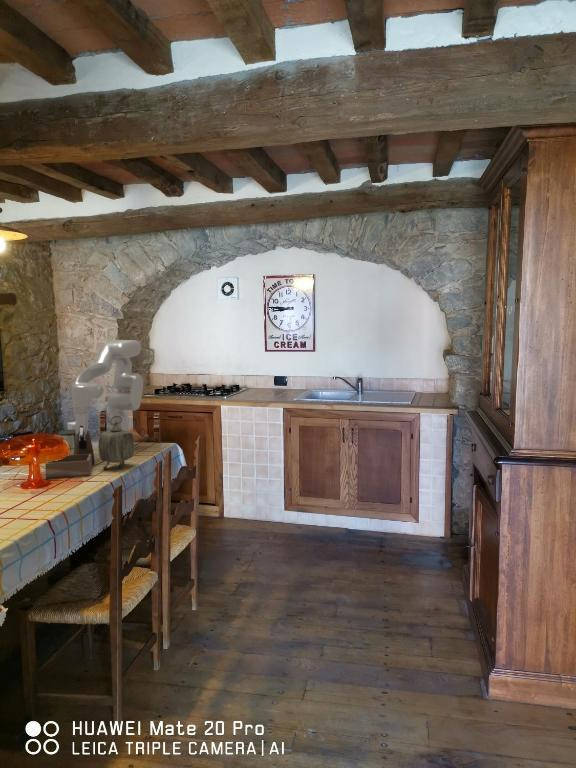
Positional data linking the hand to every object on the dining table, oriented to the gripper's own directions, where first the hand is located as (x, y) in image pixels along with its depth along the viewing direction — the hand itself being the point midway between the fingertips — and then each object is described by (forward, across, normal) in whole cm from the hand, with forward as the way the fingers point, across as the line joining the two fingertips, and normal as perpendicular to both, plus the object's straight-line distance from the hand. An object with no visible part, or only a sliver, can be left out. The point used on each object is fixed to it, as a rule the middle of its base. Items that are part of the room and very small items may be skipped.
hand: (83, 447), depth 252 cm
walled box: (+9, +13, -5) cm, 17 cm away
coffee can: (+9, -16, -8) cm, 20 cm away
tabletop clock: (+9, +9, +16) cm, 21 cm away
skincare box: (+9, -34, -6) cm, 36 cm away
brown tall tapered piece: (+9, 0, 0) cm, 9 cm away
